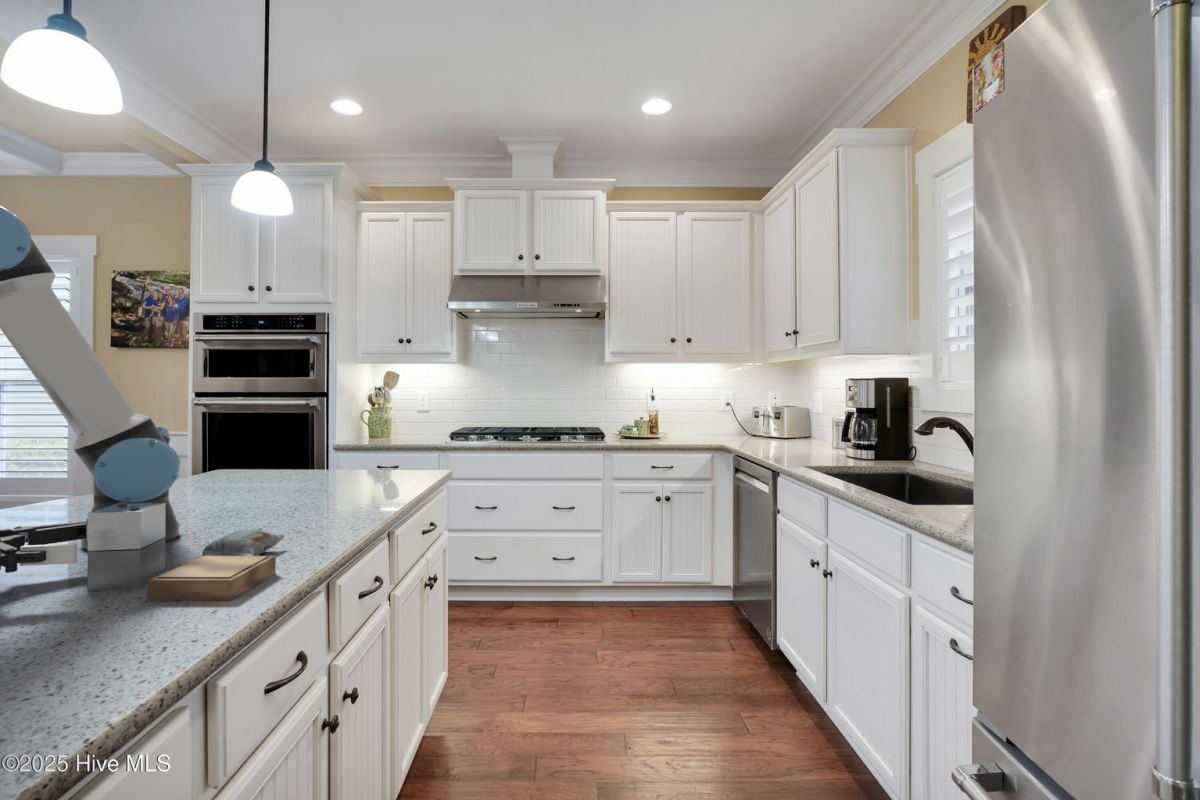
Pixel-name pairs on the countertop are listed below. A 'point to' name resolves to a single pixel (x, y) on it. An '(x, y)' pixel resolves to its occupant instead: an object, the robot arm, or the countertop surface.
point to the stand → (211, 578)
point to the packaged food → (242, 543)
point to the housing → (125, 545)
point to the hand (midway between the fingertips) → (106, 540)
